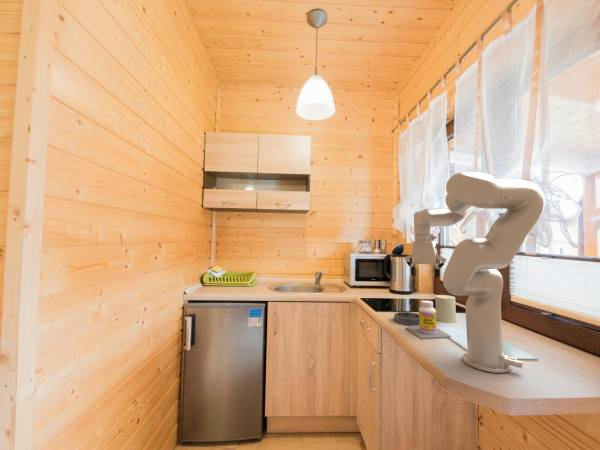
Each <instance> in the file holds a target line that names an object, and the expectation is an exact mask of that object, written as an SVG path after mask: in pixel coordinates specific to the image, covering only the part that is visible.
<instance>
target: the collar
mask: <svg viewBox="0 0 600 450" xmlns="http://www.w3.org/2000/svg"><path fill="white" fill-rule="evenodd" d="M393 317H394V319H393V320H394V321H395V322H396V323H397V324H399V325H405V326H408V327H419V313H416V312H410V311H400V312H399V311H397V312H395V313H394V315H393Z"/></svg>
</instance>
